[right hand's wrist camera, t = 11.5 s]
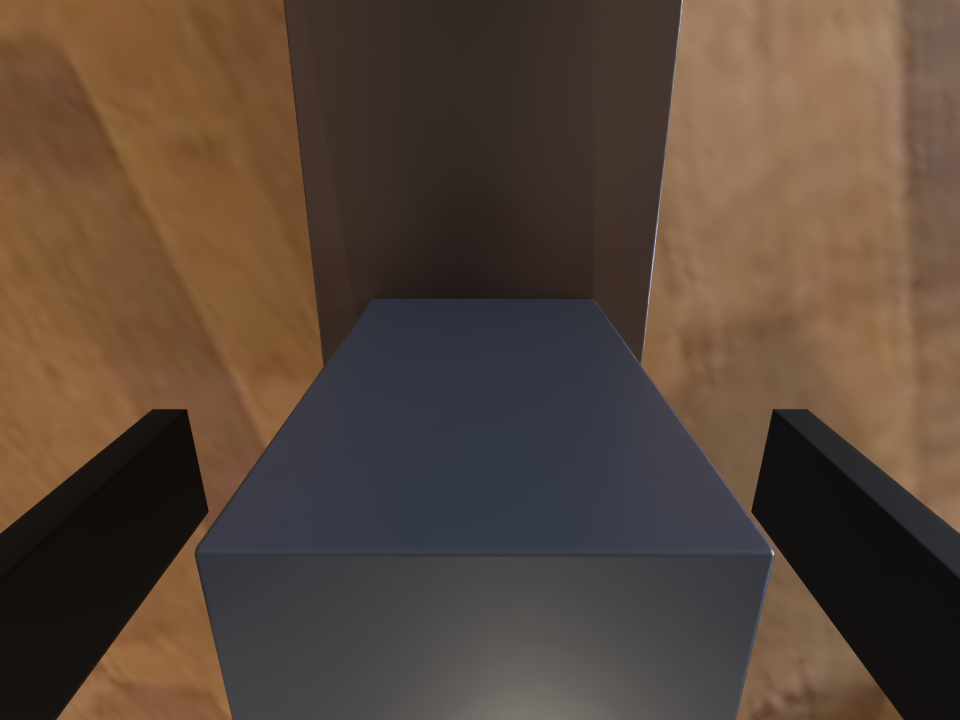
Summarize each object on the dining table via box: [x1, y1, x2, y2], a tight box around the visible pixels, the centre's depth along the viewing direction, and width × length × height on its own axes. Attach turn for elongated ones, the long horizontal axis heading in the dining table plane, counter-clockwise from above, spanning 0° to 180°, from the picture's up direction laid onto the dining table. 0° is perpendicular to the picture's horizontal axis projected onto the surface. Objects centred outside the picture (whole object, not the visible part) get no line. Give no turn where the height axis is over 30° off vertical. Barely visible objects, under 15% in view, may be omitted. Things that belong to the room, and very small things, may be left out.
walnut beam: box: [284, 0, 683, 366], centre depth 17 cm, size 9×28×9 cm, turn 0°
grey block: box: [195, 299, 774, 720], centre depth 11 cm, size 6×6×10 cm
